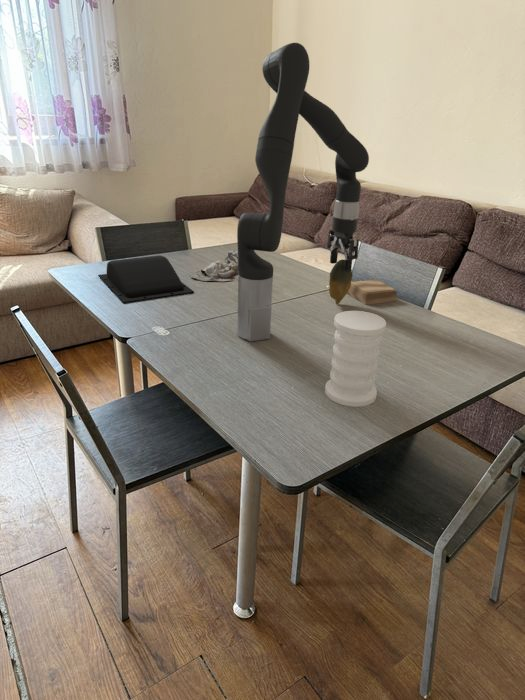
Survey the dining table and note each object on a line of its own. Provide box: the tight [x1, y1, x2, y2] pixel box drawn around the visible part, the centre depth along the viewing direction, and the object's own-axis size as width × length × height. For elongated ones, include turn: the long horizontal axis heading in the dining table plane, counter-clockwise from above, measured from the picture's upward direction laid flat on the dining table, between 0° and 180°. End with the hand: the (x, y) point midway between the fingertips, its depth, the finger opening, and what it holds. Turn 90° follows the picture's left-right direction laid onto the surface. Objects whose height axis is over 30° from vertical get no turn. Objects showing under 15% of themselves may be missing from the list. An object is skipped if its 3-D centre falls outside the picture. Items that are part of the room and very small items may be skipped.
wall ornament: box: [189, 249, 239, 282], centre depth 192 cm, size 19×10×30 cm
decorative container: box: [324, 310, 387, 408], centre depth 112 cm, size 12×12×18 cm
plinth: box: [347, 279, 398, 305], centre depth 175 cm, size 12×12×4 cm
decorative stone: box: [328, 259, 353, 305], centre depth 164 cm, size 10×6×15 cm, turn 131°
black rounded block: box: [97, 255, 195, 305], centre depth 176 cm, size 24×8×30 cm
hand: (340, 267), depth 163 cm, fingers open, 8 cm apart
